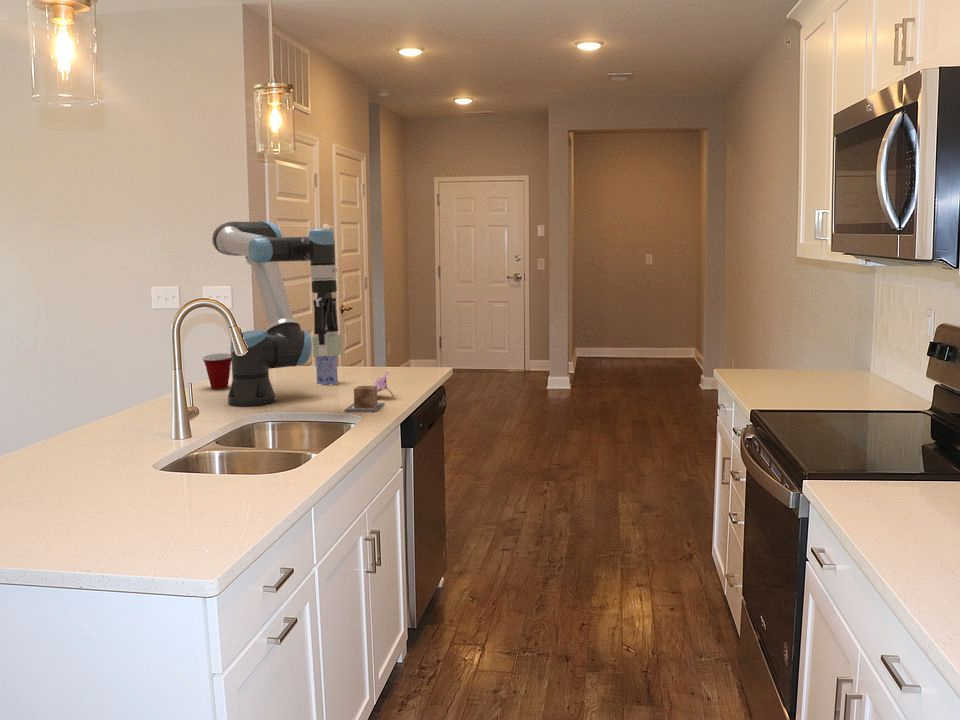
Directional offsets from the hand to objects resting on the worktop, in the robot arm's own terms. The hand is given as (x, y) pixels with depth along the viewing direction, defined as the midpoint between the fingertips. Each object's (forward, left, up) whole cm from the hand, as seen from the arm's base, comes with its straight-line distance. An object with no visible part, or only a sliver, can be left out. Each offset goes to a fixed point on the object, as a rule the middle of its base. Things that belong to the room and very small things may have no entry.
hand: (327, 353), depth 275 cm
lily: (+12, +22, -18) cm, 31 cm away
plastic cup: (-52, +38, -18) cm, 67 cm away
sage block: (0, 0, 0) cm, 0 cm away
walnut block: (+11, +4, -17) cm, 21 cm away
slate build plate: (+10, +4, -18) cm, 21 cm away
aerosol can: (-15, +49, -18) cm, 55 cm away
